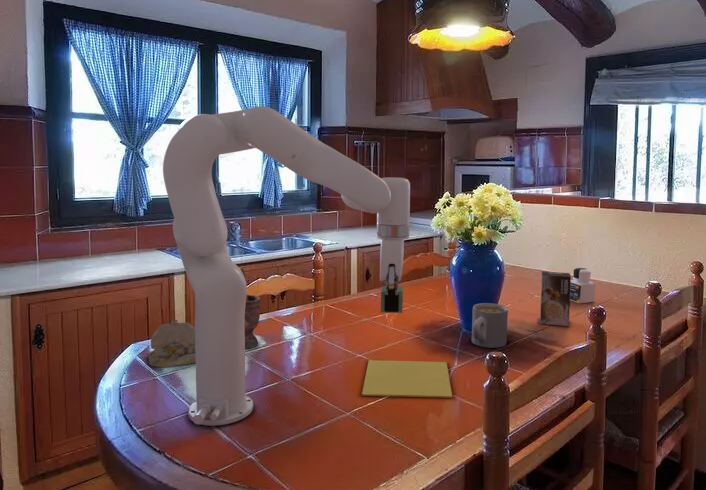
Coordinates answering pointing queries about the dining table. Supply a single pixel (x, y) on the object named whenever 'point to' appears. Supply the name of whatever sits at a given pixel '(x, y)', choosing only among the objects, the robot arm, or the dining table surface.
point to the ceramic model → (173, 345)
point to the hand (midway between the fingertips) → (391, 307)
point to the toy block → (400, 292)
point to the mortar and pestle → (251, 318)
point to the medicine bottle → (582, 286)
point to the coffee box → (555, 298)
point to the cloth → (407, 379)
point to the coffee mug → (489, 325)
